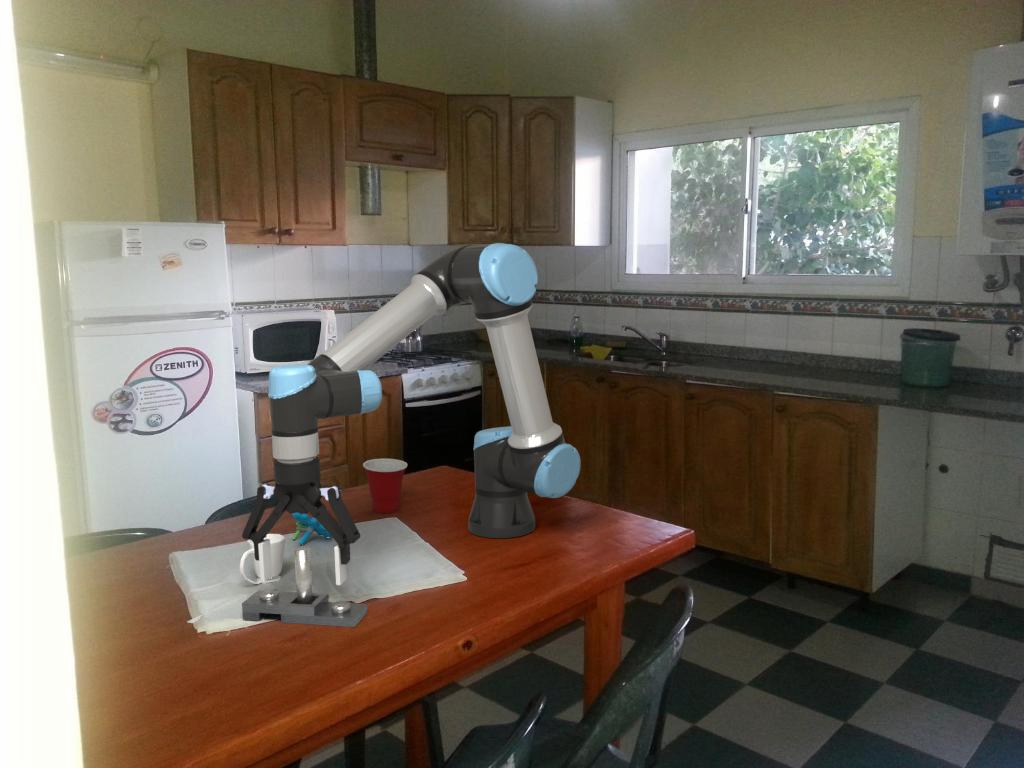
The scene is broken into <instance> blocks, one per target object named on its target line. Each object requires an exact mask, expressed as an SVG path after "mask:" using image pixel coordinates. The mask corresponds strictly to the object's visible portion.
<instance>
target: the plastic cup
mask: <svg viewBox="0 0 1024 768" xmlns="http://www.w3.org/2000/svg"><path fill="white" fill-rule="evenodd" d="M362 466H363V468H364V470H365V474H366V478H367V481H368V482H367V483H368V488H369V491H370V497H371V501H372V505H373V509H374V512H375V513H379V514H390V513H394V512H397V511H399V506H400V497H401V494H402V493H401V492H402V486H403V485H402V484H403V481H404V480H403V478H404V475H405V472H406V471H405V470H406V469H407V467H408V463H407V462H406V461H404V460H402V459H401V460H400V459H394V458H373V459H368V460H366V461H365V462H363V463H362Z"/></svg>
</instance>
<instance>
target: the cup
mask: <svg viewBox="0 0 1024 768" xmlns="http://www.w3.org/2000/svg"><path fill="white" fill-rule="evenodd" d="M266 536H267V537H265V538H264V540H265V539H270V550H271V566H272V576H271V577H272V579H271V577H270V579H269V578H268V579H267V580H266V581H261V579H260V563H259V561H257V560H256V559H255V554H254V543H253V541H252V540H249V539H247V541H246V543H247V546H248V547H247V548H248V550H246V551H245V552H244V553H243V554H242V557H241V558H240V562H239V573H240V577H241V578H242V579H243V580H245V581H246V582H248V583H250V584H255V585H260V584H259V583H261V582H272V581H276V580H278V579H279V578H280V577H281V576H280V574H281V573H282V569H283V564H284V555H285V546H286V545H285V543H286V537H285V536H283V535H282V534H281V533H268V534H267V535H266ZM248 555H250V560H251V563H252V564H251V565H252V567H253V571H254V573H255V575H256V576H257V578H256V581H254V580H251V579H249V578H248V577H247V576H246V574H245V562H246V560H247V557H248ZM280 579H281V578H280ZM280 579H279V580H280ZM257 580H258V581H257ZM279 580H278V581H279Z"/></svg>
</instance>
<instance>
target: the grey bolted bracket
mask: <svg viewBox="0 0 1024 768" xmlns="http://www.w3.org/2000/svg"><path fill="white" fill-rule="evenodd" d="M312 596H313V603H312V604H311V605H309V604H297V592H296V591H282V590H279V589H277V588H266V589H258V590H256V592H254V593H253V594H252V595H251V596H249V597H248V598H246V599H245V600H244V601H243V602H241V609H242V610H241V611H242V621H249V622H260V621H261V620H263V619H264V618H265V617H266V616H267V615H268V614H274V615H280V622H281V623H283V624H297V625H299V624H301V625H312V626H313V625H315V626H331V627H346V628H347V627H348V628H349V627H350V628H355V627H357V625H358V624H359V623H360V622H361V620H363V618H364V617H365V616H366V615H367V614H368V604H367V603H352V602H351V601H348V600H338V601H329V593H324V592H323V593H322V592H312Z"/></svg>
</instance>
